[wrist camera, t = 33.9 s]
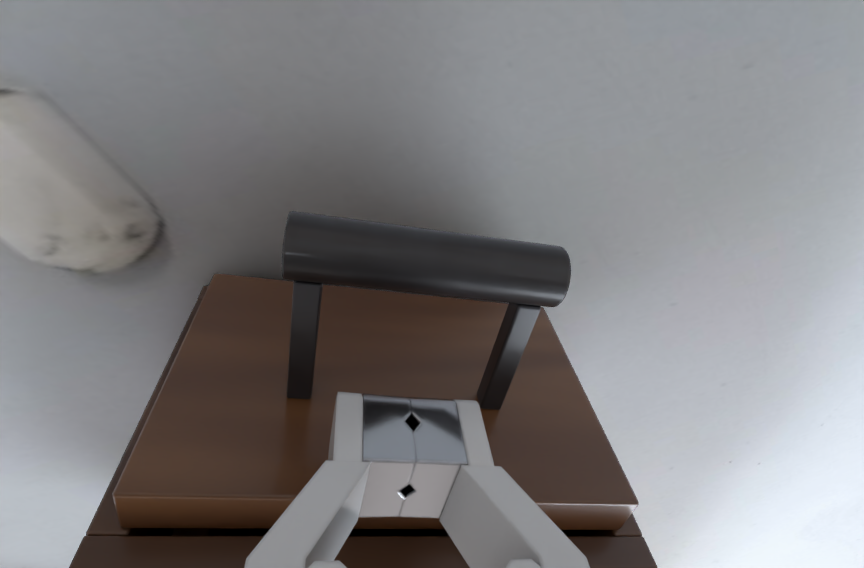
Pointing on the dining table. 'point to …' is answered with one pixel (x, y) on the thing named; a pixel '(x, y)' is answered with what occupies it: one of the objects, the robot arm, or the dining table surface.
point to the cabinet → (362, 555)
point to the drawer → (368, 378)
